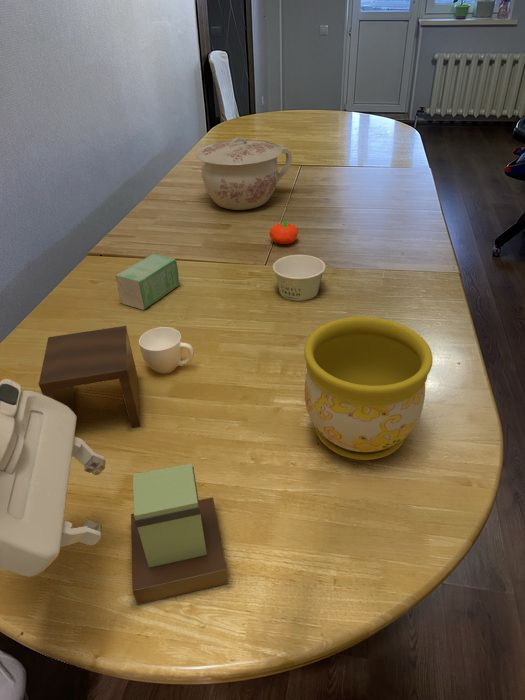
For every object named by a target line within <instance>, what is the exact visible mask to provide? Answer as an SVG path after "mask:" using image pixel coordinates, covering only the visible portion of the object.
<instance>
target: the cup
mask: <svg viewBox="0 0 525 700" xmlns="http://www.w3.org/2000/svg"><path fill="white" fill-rule="evenodd" d="M138 345H139V349H140V353H141V356H142V358H143V360H144V362H145V363H146V365H148V366H149V368H150V369H151V370H153V371H154V372H156V373H157V374H161V375H165V374H170V373H172V372H173V371H175V370H176V368H177V367H182V366H186V365H187V364H189V363H190V362H191V361H192V359H193V358H194V356H195V351H194V348H193V346H192V345H191V344H190V343H187V342H183V340H182V335H181V332H180V331H179V330H178V329H176V328H173V327H169V326H159V327H154V328H151V329H149V330H146V331H145V332H143V333H142V334H141V336H140V337H139V339H138ZM183 349H186V350H187V352H188V357H187V358H185V359H183V360H181V359H182V355H183Z"/></svg>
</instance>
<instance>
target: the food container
mask: <svg viewBox="0 0 525 700" xmlns="http://www.w3.org/2000/svg"><path fill="white" fill-rule="evenodd" d="M272 270H273V272H274V273H275V277H276V283H277V287H278V290H279V294H280V296H282V298H284V299H287V300H290V301H297V302H298V301H299V302H300V301H301V302H302V301H308V300H311V299H314V298H315V297H317V295H318V294H319V292H320V291H319V290H320V287H321V282H322V279H323V278H322V277H323V273H324V272H325V271H326V264H325V262H324V261H323V260H322V259H321V258H318V257H316V256H312V255H308V254H292V255H291V254H290V255H287V256H282V257H280V258H278V259H277V260H276V261H274V263H273V264H272Z"/></svg>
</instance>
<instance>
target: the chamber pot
mask: <svg viewBox="0 0 525 700" xmlns="http://www.w3.org/2000/svg"><path fill="white" fill-rule="evenodd" d="M282 154H285V158H286V159H285V162H284V163H285V164H284V165H283V167H282V168H281V169H280V171H279V164H278V157H280V156H281V155H282ZM194 156H195V158H196V159H197V160H198V161H200V162H202V163H203V164H202V166H201V168H200V169H201V178H202V181H203V184H204V188H205V190H206V193H207V194H208V195H209V197H210V198H211V200H212V201H213V202H214V203H215V204H216V205H217V206H219V207H220V208H223V209H225V210H230V211H248V210H249V211H250V210H253V209H256V208H259V207H262V206H264V205H265V204H267V203H268V201H269V200H270V199H271V197H272V195H273V193H274V192H275V190H276V187H277V184H278V182H279V181H280V180H282V178H283V177H284V176H285V175H286V174H287V173H288V171H289V169H290V168H291V166H292V162H293V158H292V152H291V151H290V149H289V148H288V147H287V146H285V145H279V144H276V143H274V142H270V141H265V140H260V139H246V138H245V137H235V138H232V139H231V140H222V141H218V142H214V143H210V144H207V145H204V146H202V147H200V148H198V149H197V151H196V152H195V154H194Z"/></svg>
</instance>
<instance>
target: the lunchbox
mask: <svg viewBox="0 0 525 700" xmlns="http://www.w3.org/2000/svg"><path fill="white" fill-rule="evenodd" d="M132 492H133V493H132V495H133V496H132V498H133V500H132V501H133V514H134V522H135V525H136V528H138V531H139V535H140V538H141V542H142V545H143V549H144V552H145V555H146V559H147V562H148V566H149V568H150V567H154V566H159V565H163V564H168V563H172V562H177V561H181V560H186V559H190V558H195V557H199V556H204V555H207V553H206V546H205V540H204V533H203V527H202V520H201V512H200V506H199V500H200V499H199V493H198V488H197V482H196V475H195V468H194V466H193V463H190V462H189V463H185V464H179V465H175V466H169V467H165V468H159V469H155V470H150V471H144V472H143V471H142V472H139V473H133V474H132Z"/></svg>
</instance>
